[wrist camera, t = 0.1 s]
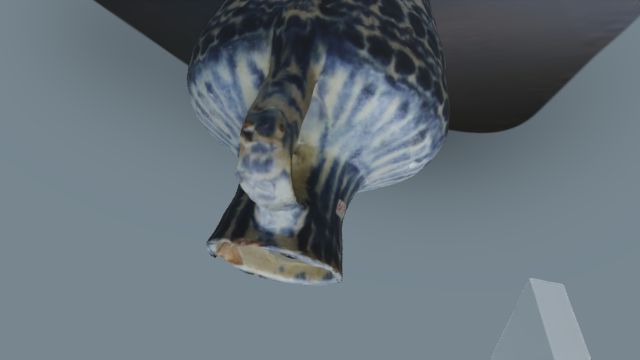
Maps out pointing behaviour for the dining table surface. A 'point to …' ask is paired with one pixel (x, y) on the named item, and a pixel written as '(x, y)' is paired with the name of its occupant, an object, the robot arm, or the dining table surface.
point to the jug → (314, 120)
